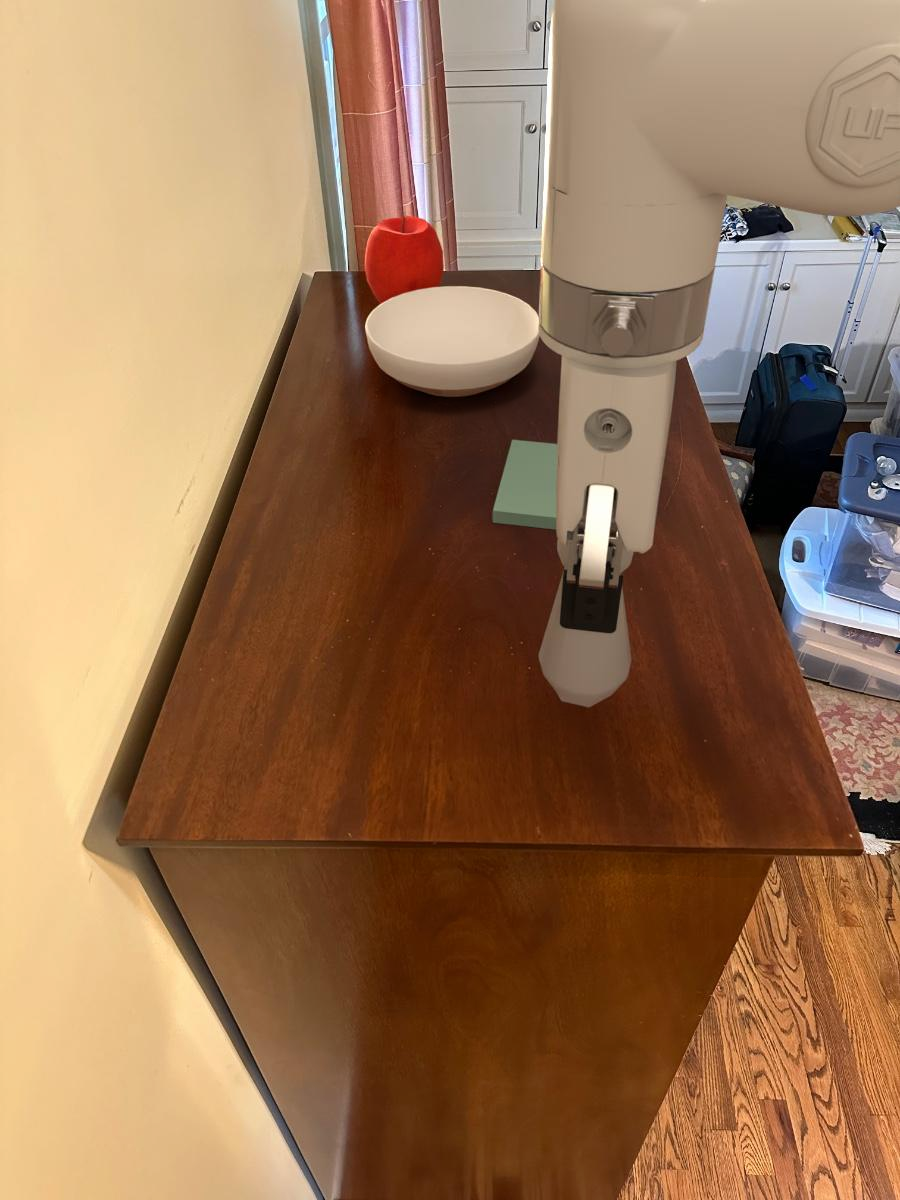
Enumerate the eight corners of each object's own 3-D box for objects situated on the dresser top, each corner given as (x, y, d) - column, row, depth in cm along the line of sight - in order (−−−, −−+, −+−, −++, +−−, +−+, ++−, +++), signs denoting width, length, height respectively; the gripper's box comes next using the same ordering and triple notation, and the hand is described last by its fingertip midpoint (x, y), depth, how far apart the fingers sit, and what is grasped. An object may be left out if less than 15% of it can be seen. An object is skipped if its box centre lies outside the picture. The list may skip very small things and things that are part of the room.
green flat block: (651, 465, 85) (656, 439, 83) (647, 542, 76) (652, 515, 74) (511, 451, 87) (512, 425, 85) (492, 524, 79) (492, 497, 77)
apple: (409, 339, 106) (404, 238, 97) (351, 317, 110) (342, 219, 102) (460, 311, 111) (459, 213, 103) (403, 292, 116) (398, 197, 108)
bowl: (337, 365, 101) (331, 315, 97) (468, 320, 109) (468, 272, 105) (434, 436, 90) (433, 383, 85) (573, 379, 98) (578, 328, 94)
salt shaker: (625, 653, 58) (649, 496, 49) (629, 719, 54) (656, 561, 45) (538, 649, 59) (546, 493, 50) (536, 714, 55) (544, 556, 46)
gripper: (712, 399, 32) (651, 714, 45) (705, 235, 44) (658, 519, 57) (513, 385, 33) (507, 696, 46) (559, 229, 46) (545, 508, 58)
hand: (591, 595), depth 51 cm, fingers closed on salt shaker, 4 cm apart
